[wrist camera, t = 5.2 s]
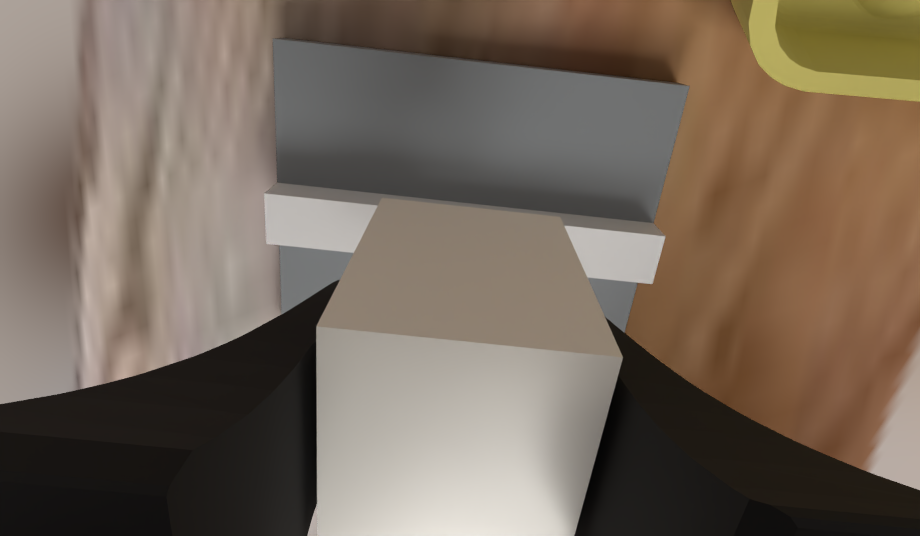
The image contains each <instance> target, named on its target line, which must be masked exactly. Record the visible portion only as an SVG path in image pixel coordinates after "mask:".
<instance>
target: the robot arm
mask: <svg viewBox="0 0 920 536" xmlns="http://www.w3.org/2000/svg"><path fill="white" fill-rule="evenodd" d="M339 281H340V280H337V281H335V282H333V283H331V284H329V285H328V286H326V287H325V288H323V289H321V290H320V291H318V292H317V293H315V294H314V295H312V296H311V297H309V298H308V299H306V300H304V301H303V302H301V303H300V304H298V305H296V306H295V307H293V308H291V309H290V310H288V311H287V312H285V313H283V314H282V315H280V316H278V317H276V318H274V319H273V320H271V321H269V322H267V323H265V324H263V325H262V326H260V327H258V328H256V329H254V330H252V331H251V332H249V333H247V334H245V335H243V336H241V337H239V338H237V339H234V340H232V341H230V342H228V343H226V344H223V345H221V346H219V347H216V348H214V349H211V350H209V351H207V352H204V353H202V354H199V355H197V356H194V357H191V358H188V359H185V360H182V361H179V362H176V363H173V364H170V365H167V366H164V367H161V368H158V369H155V370H152V371H149V372H146V373H143V374H140V375H136V376H133V377H129V378H125V379H121V380H118V381H114V382H110V383H106V384H102V385H97V386H93V387H89V388H85V389H80V390H76V391H71V392H66V393H62V394H57V395H51V396H46V397H40V398H34V399H28V400H23V401H17V402H11V403H5V404H0V536H307V534H308V531H309V527H310V523H311V520H312V516H313V513H314V510H315V507H316V504H317V379H316V326H317V324H318V322H319V320H320V318H321V316H322V314H323V312H324V310H325V308H326V306H327V304H328V302H329V300H330V298H331V297H332V295H333V293H334V291H335V289H336V287H337V285H338V283H339ZM605 318H606V317H605ZM606 320H607V323H608V325H609V327H610V329H611V332H612V334H613V336H614V338H615V341H616V343H617V345H618V347H619V350H620V352H621V354H622V356H623V359H622V363H621V367H620V370H619V374H618V378H617V381H616V385H615V389H614V392H613V396H612V400H611V403H610V407H609V411H608V414H607V418H606V422H605V425H604V429H603V433H602V436H601V440H600V444H599V447H598V451H597V455H596V458H595V462H594V466H593V469H592V473H591V477H590V480H589V484H588V488H587V491H586V495H585V499H584V502H583V506H582V510H581V513H580V517H579V521H578V524H577V528H576V532H575V535H574V536H920V490H917V489H914V488H911V487H909V486H906V485H903V484H900V483H897V482H894V481H891V480H889V479H885V478H883V477H880V476H877V475H874V474H872V473H869V472H866V471H864V470H861V469H859V468H856V467H854V466H851V465H849V464H847V463H844V462H842V461H839V460H837V459H835V458H832V457H830V456H827V455H825V454H822V453H820V452H818V451H815V450H813V449H811V448H809V447H807V446H804V445H802V444H800V443H798V442H796V441H793V440H791V439H789V438H787V437H785V436H783V435H781V434H779V433H777V432H775V431H773V430H771V429H769V428H767V427H765V426H763V425H761V424H759V423H757V422H755V421H753V420H751V419H749V418H748V417H746V416H744V415H742V414H740V413H738V412H737V411H735V410H733V409H731V408H730V407H728V406H726V405H725V404H723V403H721V402H720V401H718V400H716V399H715V398H713V397H711V396H710V395H708V394H707V393H705V392H703V391H702V390H700V389H699V388H697V387H696V386H694V385H692V384H691V383H689V382H688V381H687V380H685V379H684V378H682V377H681V376H680V375H678V374H677V373H675V372H674V371H673V370H671V369H670V368H668V367H667V366H666V365H664V364H663V363H662V362H660V361H659V360H658V359H656V358H655V357H654V356H652V355H651V354H650V353H649V352H647V351H646V350H645V349H644V348H642V347H641V346H640V345H639V344H637V343H636V342H635V341H634V340H632V339H631V338H630V337H629V336H628V335H626V334H625V333H624V332H623V331H622V330H620V329H619V328H618V327H617V326H616V325H614V324H613V323H612V322H611V321H610V320H608V319H607V318H606Z"/></svg>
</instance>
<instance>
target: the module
mask: <svg viewBox="0 0 920 536" xmlns="http://www.w3.org/2000/svg"><path fill="white" fill-rule="evenodd" d="M622 359H623V356H622V354H621V352H620V350H619V347H618V345H617V343H616V341H615V338H614V336H613V334H612V332H611V329H610V327H609V325H608V323H607V320H606V318H605V316H604V314H603V312H602V309H601V307H600V305H599V303H598V300H597V298H596V296H595V294H594V291H593V289H592V287H591V285H590V282H589V280H588V278H587V276H586V273H585V271H584V269H583V267H582V264H581V262H580V260H579V258H578V256H577V253H576V251H575V249H574V247H573V244H572V242H571V240H570V238H569V235H568V233H567V231H566V229H565V226H564V224H563V222H562V220H561V217H557V216H548V215H539V214H530V213H520V212H511V211H502V210H492V209H483V208H474V207H464V206H455V205H446V204H436V203H427V202H418V201H408V200H399V199H390V198H381V200H380V202H379V204H378V206H377V208H376V210H375V212H374V214H373V216H372V218H371V220H370V222H369V224H368V226H367V228H366V230H365V232H364V234H363V236H362V238H361V240H360V242H359V244H358V246H357V248H356V249H355V251H354V253H353V255H352V257H351V259H350V261H349V263H348V265H347V267H346V269H345V271H344V273H343V275H342V277H341V279H340V281H339V283H338V285H337V287H336V289H335V291H334V293H333V295H332V297H331V298H330V300H329V302H328V304H327V306H326V308H325V310H324V312H323V314H322V316H321V318H320V320H319V322H318V324H317V326H316V379H317V536H574V535H575V532H576V528H577V524H578V521H579V517H580V513H581V510H582V506H583V502H584V499H585V495H586V491H587V488H588V484H589V480H590V477H591V473H592V469H593V466H594V462H595V458H596V455H597V451H598V447H599V444H600V440H601V436H602V433H603V429H604V425H605V422H606V418H607V414H608V411H609V407H610V403H611V400H612V396H613V392H614V389H615V385H616V381H617V378H618V374H619V370H620V367H621V363H622Z"/></svg>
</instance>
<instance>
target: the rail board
mask: <svg viewBox="0 0 920 536" xmlns="http://www.w3.org/2000/svg"><path fill="white" fill-rule="evenodd" d="M273 61H274V93H275V124H276V156H277V183H276V184H275V185H274V186H273V187H271V188H270V189H269V190H268V191H266V192H265V193H264V204H265V227H266V244H274V245H279V250H280V282H281V313H282V314H283V313H285V312H287V311H288V310H290V309H291V308H293V307H295V306H296V305H298V304H300V303H301V302H303V301H304V300H306V299H308V298H309V297H311V296H312V295H314V294H315V293H317V292H318V291H320V290H321V289H323V288H325V287H326V286H328V285H329V284H331V283H333V282H335V281H337V280H340V279H341V277H342V275H343V273H344V271H345V269H346V267H347V265H348V263H349V261H350V259H351V257H352V255H353V253H354V251H355V249H356V248H357V246H358V244H359V242H360V240H361V238H362V236H363V234H364V232H365V230H366V228H367V226H368V224H369V222H370V220H371V218H372V216H373V214H374V212H375V210H376V208H377V206H378V204H379V202H380V200H381V198H390V199H399V200H408V201H418V202H427V203H436V204H446V205H455V206H464V207H474V208H483V209H492V210H502V211H511V212H520V213H530V214H539V215H548V216H557V217H561V220H562V222H563V224H564V226H565V229H566V231H567V233H568V235H569V238H570V240H571V242H572V244H573V247H574V249H575V251H576V253H577V256H578V258H579V260H580V262H581V264H582V267H583V269H584V271H585V273H586V276H587V278H588V280H589V282H590V285H591V287H592V289H593V291H594V294H595V296H596V298H597V300H598V303H599V305H600V307H601V309H602V312H603V314H604V316H605V317H606V318H607V319H608V320H610V321H611V322H612V323H613V324H614V325H616V326H617V327H618V328H619V329H620V330H622V331H623V332H624V333H625V329H626V325H627V321H628V318H629V314H630V310H631V306H632V302H633V299H634V295H635V291H636V287H637V283H646V284H653V280H654V276H655V273H656V269H657V266H658V262H659V258H660V255H661V251H662V247H663V244H664V240H665V237H666V236H665V235H664V234H663V233H662V232H661V231H660V230H659V229H658V228H657V226H656V225H655V224H654V219H655V215H656V212H657V208H658V204H659V200H660V196H661V193H662V189H663V185H664V181H665V177H666V174H667V170H668V166H669V162H670V158H671V155H672V151H673V147H674V143H675V140H676V136H677V132H678V128H679V124H680V121H681V117H682V113H683V109H684V105H685V102H686V98H687V94H688V90H689V87H690V86H687V85H684V84H680V83H675V82H666V81H657V80H648V79H640V78H631V77H622V76H613V75H605V74H596V73H587V72H578V71H570V70H561V69H552V68H543V67H534V66H526V65H517V64H508V63H499V62H491V61H482V60H473V59H464V58H455V57H447V56H438V55H429V54H420V53H412V52H403V51H394V50H385V49H377V48H368V47H359V46H350V45H341V44H333V43H324V42H315V41H306V40H298V39H289V38H275V39H273Z"/></svg>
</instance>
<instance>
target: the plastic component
mask: <svg viewBox="0 0 920 536" xmlns="http://www.w3.org/2000/svg"><path fill="white" fill-rule="evenodd" d="M731 3H732V6H733V9H734V11H735V13H736V15H737V17H738V20H739V22H740V24H741V26H742V29H743V31H744V33H745V35H746V37H747V40H748V42H749V44H750V46H751V49H752V51H753V53H754V55H755V57H756V60H757V62H758V64H759V65H760V66H761V68H762V69H763V70H764V71H765V72H766V73H767V74H768V75H769V76H770V77H771V78H773V79H774V80H776V81H778V82H779V83H781V84H783V85H785V86H788V87H791V88H794V89H797V90H801V91H804V92H815V93H827V94H838V95H850V96H861V97H872V98H884V99H895V100H907V101H918V102H920V0H731Z"/></svg>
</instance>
